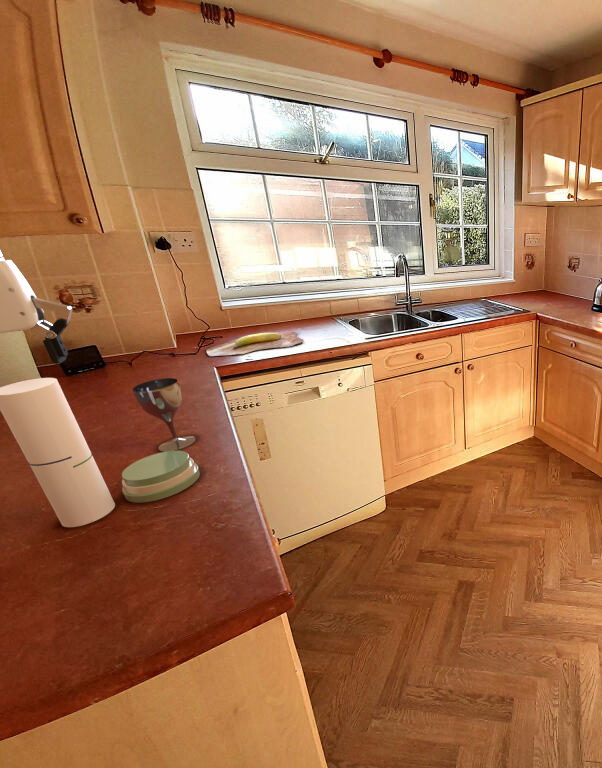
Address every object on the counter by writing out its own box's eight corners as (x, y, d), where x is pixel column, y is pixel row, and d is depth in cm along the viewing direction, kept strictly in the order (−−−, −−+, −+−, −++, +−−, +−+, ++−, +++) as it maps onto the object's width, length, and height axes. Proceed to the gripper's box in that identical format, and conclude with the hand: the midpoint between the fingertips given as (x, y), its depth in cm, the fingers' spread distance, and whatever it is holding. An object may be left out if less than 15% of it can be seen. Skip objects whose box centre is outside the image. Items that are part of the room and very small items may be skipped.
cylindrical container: (56, 517, 75) (-13, 388, 66) (108, 496, 81) (51, 374, 71) (67, 533, 72) (-5, 399, 62) (120, 509, 77) (62, 383, 67)
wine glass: (185, 432, 104) (165, 376, 98) (205, 439, 101) (185, 381, 95) (148, 447, 98) (124, 388, 92) (168, 455, 94) (144, 394, 89)
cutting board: (295, 330, 195) (294, 322, 193) (309, 343, 174) (307, 334, 173) (205, 344, 176) (202, 336, 174) (208, 361, 155) (205, 351, 154)
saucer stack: (108, 499, 80) (98, 479, 78) (166, 464, 91) (159, 446, 89) (160, 505, 78) (152, 485, 76) (214, 469, 89) (208, 451, 87)
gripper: (-159, 259, 52) (-80, 387, 59) (33, 250, 60) (84, 363, 66) (-115, 255, 58) (-48, 371, 65) (54, 247, 66) (98, 351, 72)
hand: (18, 367), depth 66 cm, fingers open, 9 cm apart
